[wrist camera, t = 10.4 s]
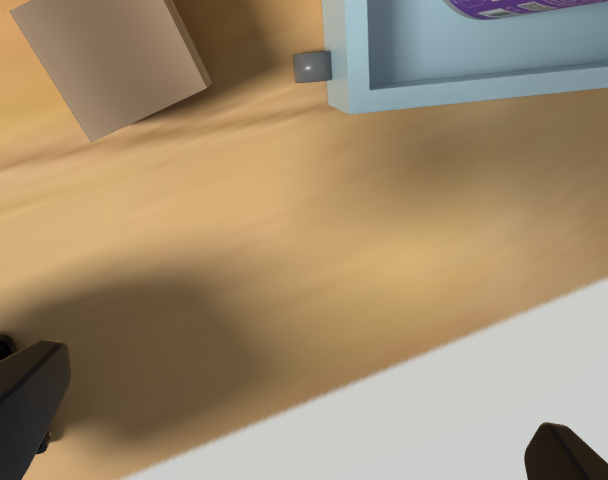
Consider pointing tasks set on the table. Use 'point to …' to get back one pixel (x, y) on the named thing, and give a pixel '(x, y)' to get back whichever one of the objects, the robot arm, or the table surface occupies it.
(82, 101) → the walnut block
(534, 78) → the cart
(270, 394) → the table surface
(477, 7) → the container
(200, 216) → the table surface
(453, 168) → the table surface
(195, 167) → the table surface
